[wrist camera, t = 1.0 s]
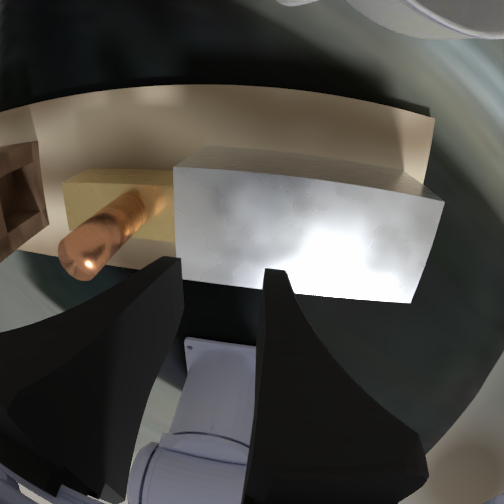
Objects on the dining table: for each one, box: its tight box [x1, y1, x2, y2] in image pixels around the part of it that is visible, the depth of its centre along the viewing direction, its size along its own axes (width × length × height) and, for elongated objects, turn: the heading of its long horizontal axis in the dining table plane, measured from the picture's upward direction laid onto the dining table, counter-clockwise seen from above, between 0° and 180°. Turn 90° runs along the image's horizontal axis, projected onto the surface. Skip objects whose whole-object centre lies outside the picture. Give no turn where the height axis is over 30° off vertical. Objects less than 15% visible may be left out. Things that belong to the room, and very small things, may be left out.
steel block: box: [173, 146, 445, 303], centre depth 16 cm, size 6×12×6 cm, turn 86°
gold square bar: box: [58, 169, 175, 281], centre depth 14 cm, size 3×19×8 cm, turn 86°
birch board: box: [0, 85, 435, 270], centre depth 19 cm, size 13×33×1 cm, turn 86°
